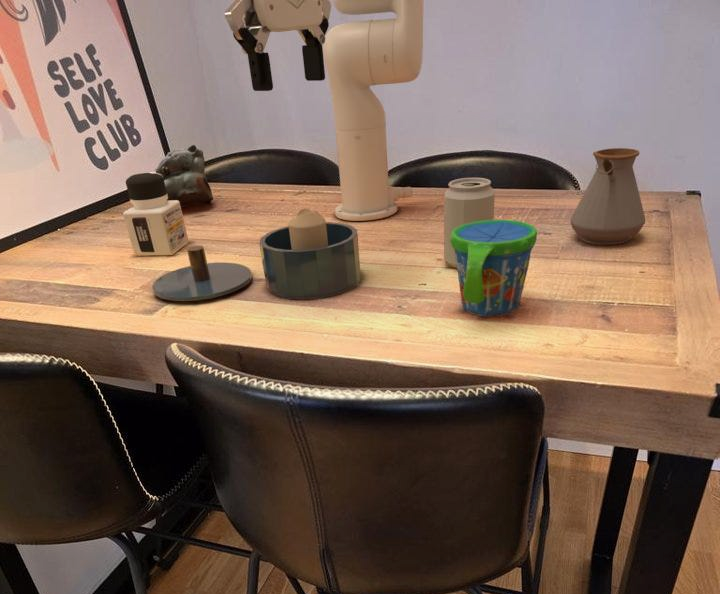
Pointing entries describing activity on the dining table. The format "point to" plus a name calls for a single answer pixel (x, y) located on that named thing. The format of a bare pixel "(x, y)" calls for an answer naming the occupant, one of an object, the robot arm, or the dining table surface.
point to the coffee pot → (610, 200)
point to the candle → (308, 230)
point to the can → (465, 208)
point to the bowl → (311, 264)
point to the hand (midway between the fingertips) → (290, 85)
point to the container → (153, 217)
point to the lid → (201, 279)
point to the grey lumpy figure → (185, 176)
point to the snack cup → (492, 264)
